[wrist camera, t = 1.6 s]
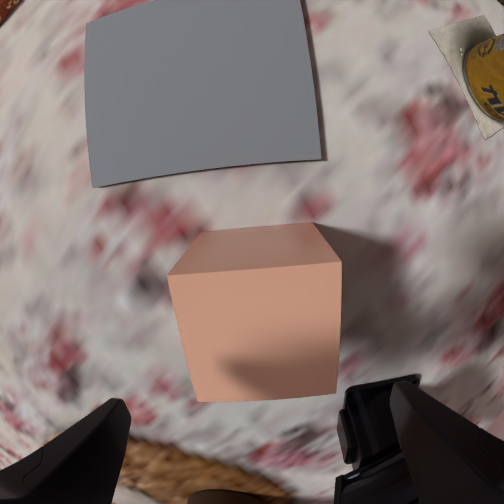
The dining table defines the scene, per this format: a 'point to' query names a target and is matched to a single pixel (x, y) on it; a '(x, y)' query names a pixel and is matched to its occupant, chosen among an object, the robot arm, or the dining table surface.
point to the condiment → (477, 68)
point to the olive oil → (221, 498)
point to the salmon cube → (259, 313)
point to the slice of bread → (7, 8)
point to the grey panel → (198, 88)
